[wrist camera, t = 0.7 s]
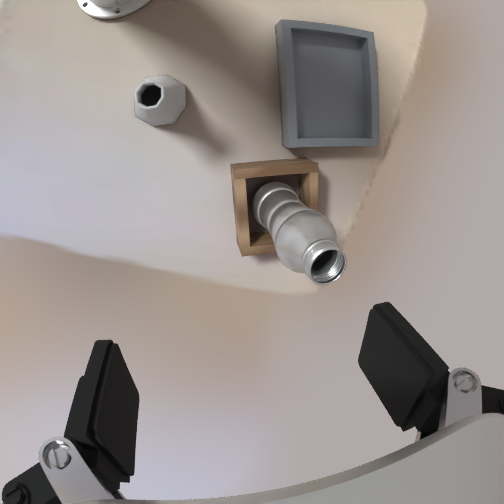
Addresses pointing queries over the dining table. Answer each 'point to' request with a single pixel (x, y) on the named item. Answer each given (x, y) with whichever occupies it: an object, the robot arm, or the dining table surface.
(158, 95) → the flask
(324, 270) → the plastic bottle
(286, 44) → the parts tray
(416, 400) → the robot arm
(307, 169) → the holder
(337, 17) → the dining table surface
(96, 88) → the dining table surface
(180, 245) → the dining table surface
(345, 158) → the dining table surface
